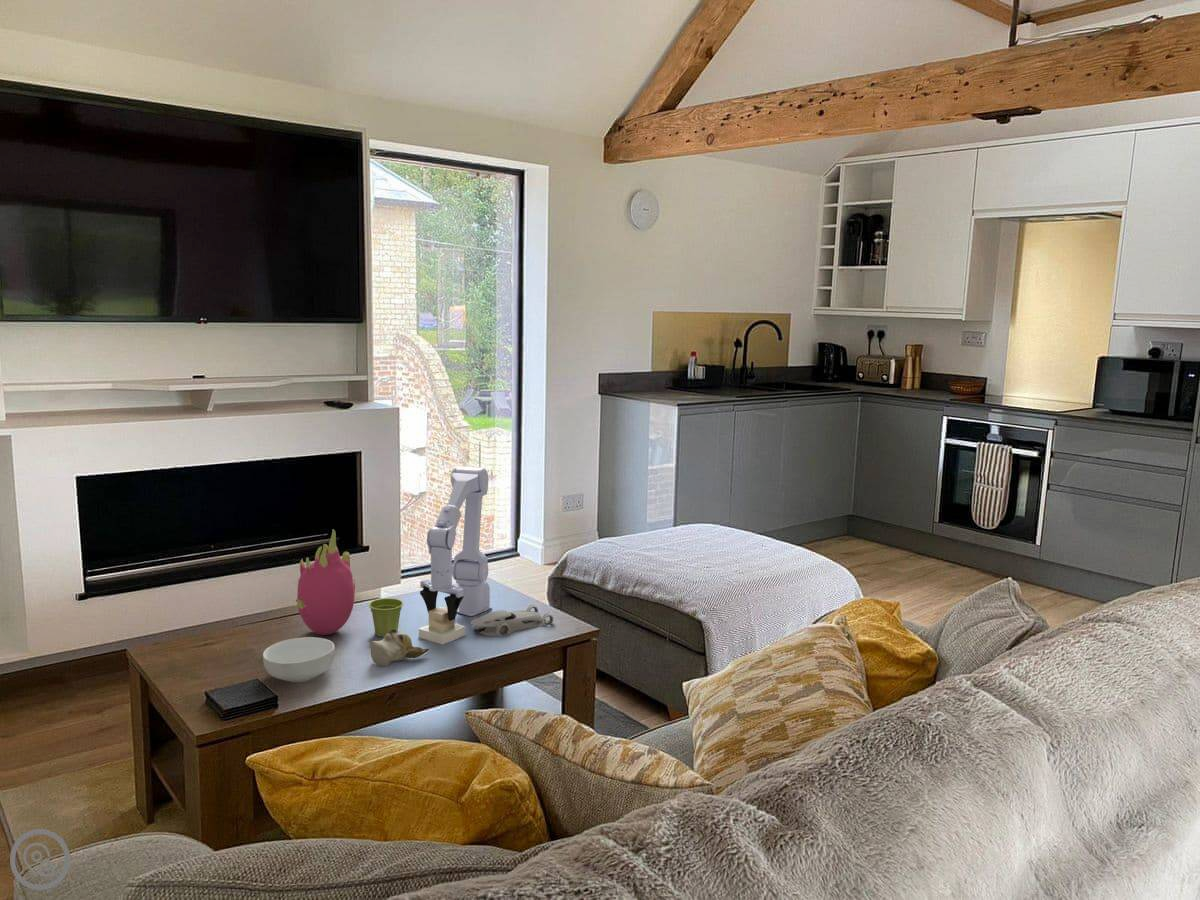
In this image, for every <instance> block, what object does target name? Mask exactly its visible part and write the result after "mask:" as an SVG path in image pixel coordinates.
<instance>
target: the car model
mask: <svg viewBox="0 0 1200 900" xmlns="http://www.w3.org/2000/svg"><path fill="white" fill-rule="evenodd" d="M532 609H534V610H533V611H532ZM548 617H549V619H547V618H548ZM553 623H554V616H553V614H551V613H549V612H547V613H544V614H543V615H541V613H540V612H539V609H538V607H537V606H536V605H534V604H530V605H529V606H527V608H526V609H525V610H515V611H514V610H513V611H507V610H504V609H500V610H495V611H493V612H486V613H483V614H482V615H481V616H480V617H477V618H475V619H473V620H472V621H470V624H471V625H473V627H472V628H473V630H475V631H481V632H480V635H483V636H485V637H486V636H487V637H502V636H503V637H504V636H507V635H510V634H512V633H514V632H518V631H522V630H525V629H530V628H535V627H543V626H550V624H551V625H552V624H553Z"/></svg>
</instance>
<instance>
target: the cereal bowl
mask: <svg viewBox="0 0 1200 900" xmlns="http://www.w3.org/2000/svg"><path fill="white" fill-rule="evenodd" d="M335 651H336V650H335V644H334V642H333V641H331V640H329V639H327V638H323V637H314V636H307V637H295V638H289V639H285V640H282V641H278V642H276V643H274V644H271V645H270V646H268V647H266V648H265V650H264V651H263V653H262V661H263V665H264V669H265V670H266V672H267V673H268V674H269V675H270V676H271V677H273V678H275V679H279V680H281V681H282V680H283V681H286V682H288V681H289V683H302V682H308V681H311V680H314V679H315V678H316V677H317V676H318V675H321V674H323V673H324V672H326V671H327V670H329V668H330V667H331V666H332V664H333V662H334V659H335V654H336V653H335Z"/></svg>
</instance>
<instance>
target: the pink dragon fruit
mask: <svg viewBox="0 0 1200 900" xmlns="http://www.w3.org/2000/svg"><path fill="white" fill-rule="evenodd" d="M331 530H332V532H331V536H330V539H329V541H328V544H326V543H323V545H322V546H319V547H318V548H317V550H316V552H315V554H314V555H315V556H314V562H312V563H311V562H310V561H311V560H310V559H309V557H306V559H305V563H304V560H303V558H301V560H300V561H299V572H300V576H299V578H298V581H297V596H296V597H297V598H296V599H295V601H296V603H297V609H298V614H299V616H300V617H301V619H302V621H303V622H304V624H305V625H306V626H307V628H308V629H309V630H311V631H312V632H314V633H315V634H318V635H322V636H323V635H324V636H326V635H332V634H334V633H337V632H338V631H339V630H341V629H342V628H343V627H344V625H345V624H346V623H347V622H348V621H349V619H350V616H351V614H352V612H353V608H354V603H355V595H356V594H355V592H356V580H355V578H353V573H352V569H351V559H350V556H351V555H350V552H348V551H344V552H343V553H342V556H341V555H340V552H339V548H338V546H337V540H336V539H337V537H336V536H337V535H336V530H335V529H333V528H332V529H331Z"/></svg>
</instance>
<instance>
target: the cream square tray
mask: <svg viewBox="0 0 1200 900" xmlns="http://www.w3.org/2000/svg"><path fill="white" fill-rule="evenodd" d="M465 635H466V626H465V625H461V624H457V623H455V627H454V628H451V629H449V630H446V631H443V632H440V631H436V630H433V629H430V628H429V624H428V625H425V626H422V627H420V628H418V638H420V639H421V640H422V639H423V640H426V641H430V642H433V643H436V644H439V645H445V644H447V643H451V642H452V641H454V640H457V639H460V638H463V636H465Z"/></svg>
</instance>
